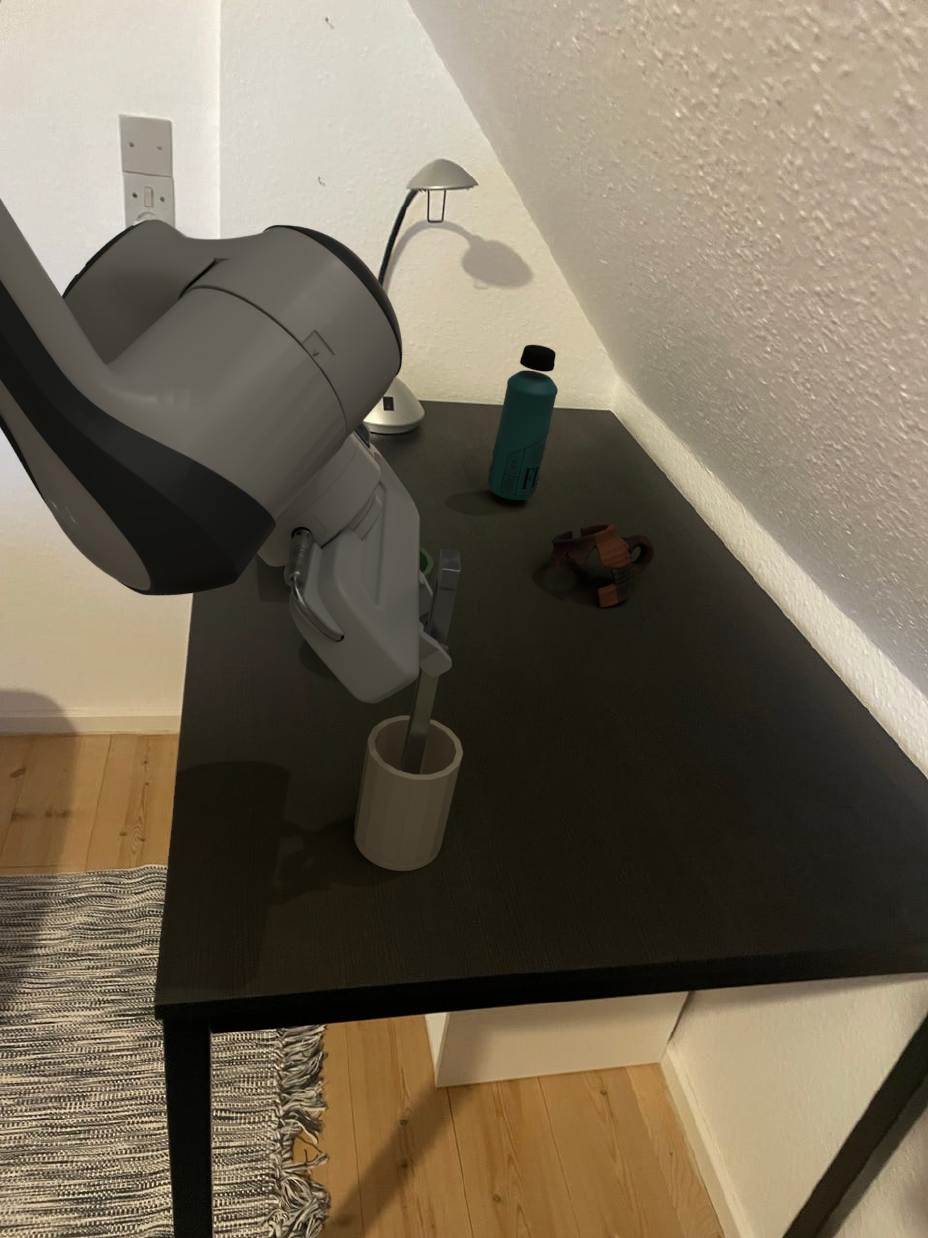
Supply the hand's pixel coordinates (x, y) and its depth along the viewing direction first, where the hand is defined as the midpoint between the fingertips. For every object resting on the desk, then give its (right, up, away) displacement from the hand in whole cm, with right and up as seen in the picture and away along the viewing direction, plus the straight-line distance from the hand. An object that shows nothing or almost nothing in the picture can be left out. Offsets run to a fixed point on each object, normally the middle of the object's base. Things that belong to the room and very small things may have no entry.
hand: (442, 648), depth 62 cm
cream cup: (-4, -14, +9) cm, 17 cm away
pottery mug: (+17, +6, +46) cm, 50 cm away
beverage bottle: (+7, +17, +61) cm, 64 cm away
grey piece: (-3, -9, +6) cm, 11 cm away
